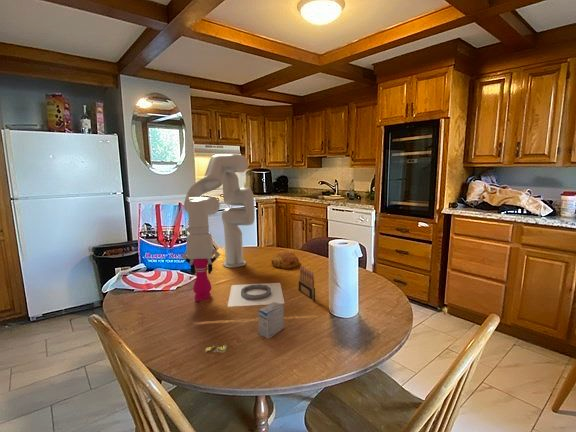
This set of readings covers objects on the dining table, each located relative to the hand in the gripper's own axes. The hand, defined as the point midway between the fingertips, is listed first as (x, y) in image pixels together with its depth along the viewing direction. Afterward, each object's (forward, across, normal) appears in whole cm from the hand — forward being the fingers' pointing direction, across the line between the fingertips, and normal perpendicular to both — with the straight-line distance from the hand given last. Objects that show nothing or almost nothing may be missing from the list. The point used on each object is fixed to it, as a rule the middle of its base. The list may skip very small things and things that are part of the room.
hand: (201, 272), depth 129 cm
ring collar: (+10, +22, -1) cm, 24 cm away
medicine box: (+11, +27, -31) cm, 42 cm away
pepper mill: (+11, 0, -1) cm, 11 cm away
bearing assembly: (+11, +10, -39) cm, 41 cm away
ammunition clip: (+11, +43, -4) cm, 44 cm away
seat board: (+11, +22, -1) cm, 24 cm away
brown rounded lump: (+12, +38, +38) cm, 56 cm away
